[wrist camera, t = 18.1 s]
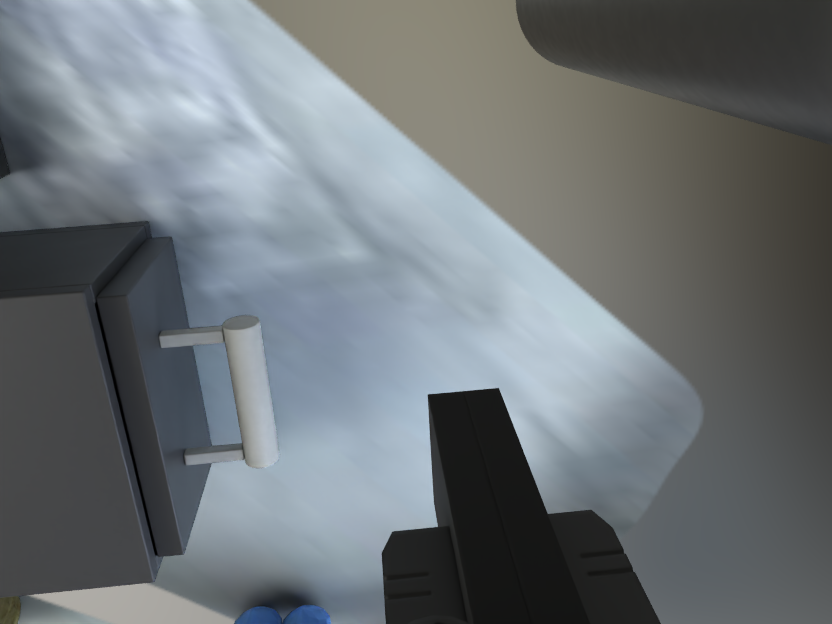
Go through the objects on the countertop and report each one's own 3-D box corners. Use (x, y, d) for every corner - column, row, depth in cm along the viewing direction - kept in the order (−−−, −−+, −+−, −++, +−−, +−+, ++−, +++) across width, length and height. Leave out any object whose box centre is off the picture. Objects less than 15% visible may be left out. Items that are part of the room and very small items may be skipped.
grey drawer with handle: (263, 229, 36) (241, 285, 29) (294, 449, 40) (282, 545, 33) (-144, 260, 35) (-273, 327, 28) (-63, 482, 39) (-155, 589, 32)
